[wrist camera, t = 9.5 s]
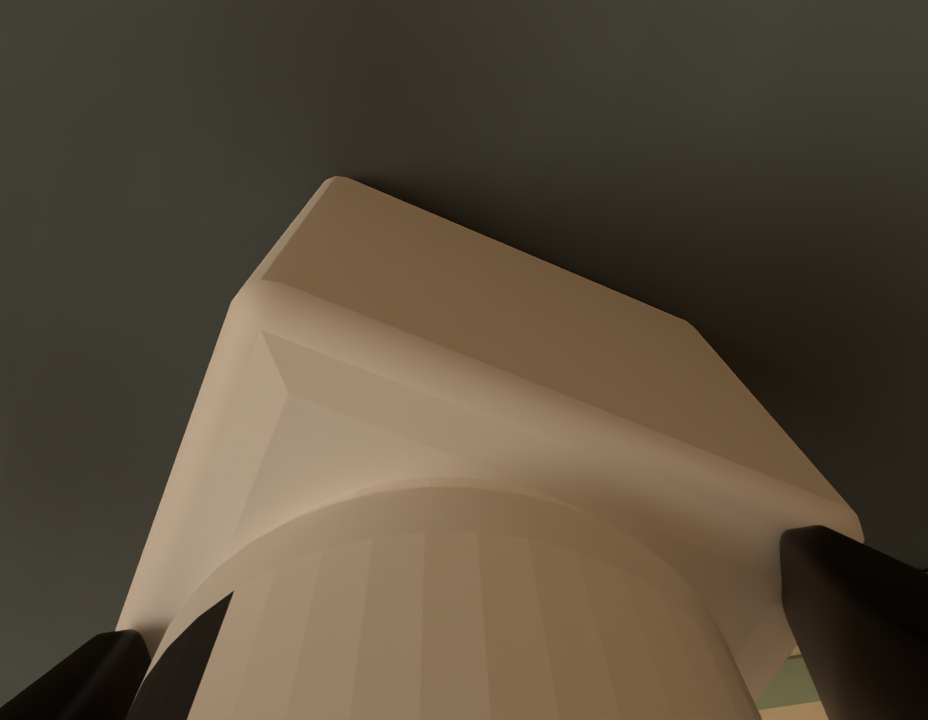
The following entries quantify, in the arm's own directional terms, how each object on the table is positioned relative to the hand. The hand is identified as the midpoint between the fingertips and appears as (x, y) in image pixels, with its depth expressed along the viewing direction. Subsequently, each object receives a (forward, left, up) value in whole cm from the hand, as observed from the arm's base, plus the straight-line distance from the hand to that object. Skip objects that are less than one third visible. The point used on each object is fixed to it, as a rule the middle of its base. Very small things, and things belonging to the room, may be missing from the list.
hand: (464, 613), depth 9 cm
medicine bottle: (0, +1, -7) cm, 7 cm away
